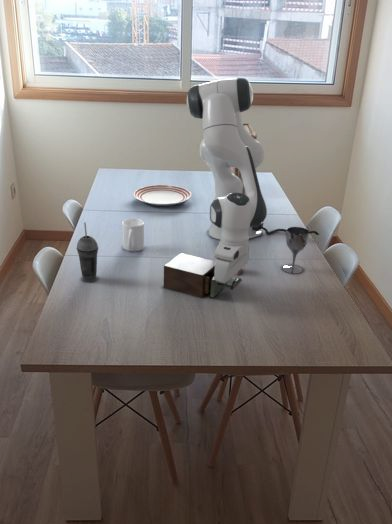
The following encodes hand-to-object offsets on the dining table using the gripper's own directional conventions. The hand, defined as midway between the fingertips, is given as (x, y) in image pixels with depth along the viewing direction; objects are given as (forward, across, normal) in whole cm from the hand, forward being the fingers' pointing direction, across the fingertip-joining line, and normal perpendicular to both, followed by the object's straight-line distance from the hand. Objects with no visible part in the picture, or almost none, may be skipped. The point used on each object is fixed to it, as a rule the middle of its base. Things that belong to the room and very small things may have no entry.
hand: (231, 284), depth 193 cm
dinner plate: (+4, -75, -68) cm, 102 cm away
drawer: (+3, 0, -7) cm, 8 cm away
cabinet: (+4, 0, -15) cm, 15 cm away
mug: (+4, -16, -48) cm, 51 cm away
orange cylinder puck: (+4, -18, -6) cm, 20 cm away
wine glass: (+4, -32, +11) cm, 34 cm away
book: (+4, -109, -44) cm, 117 cm away
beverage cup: (+4, +14, -47) cm, 49 cm away
